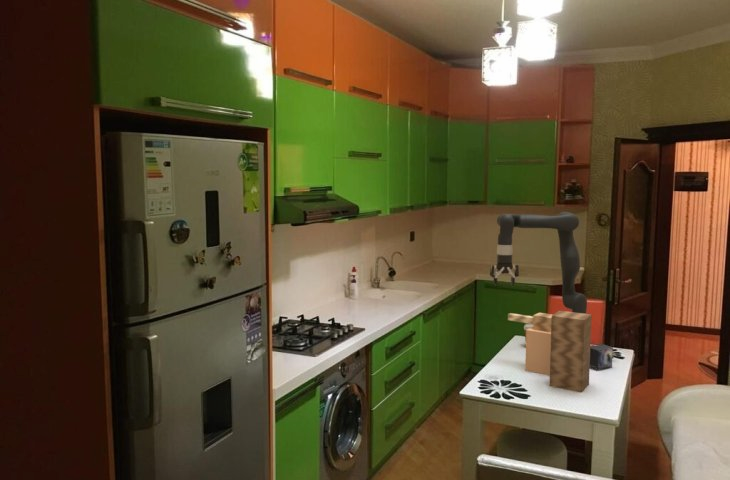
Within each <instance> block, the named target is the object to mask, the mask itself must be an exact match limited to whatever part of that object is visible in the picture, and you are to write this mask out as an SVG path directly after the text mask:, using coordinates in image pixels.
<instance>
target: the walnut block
mask: <svg viewBox="0 0 730 480" xmlns="http://www.w3.org/2000/svg"><path fill="white" fill-rule="evenodd" d="M592 316H593V315H592V314H591V313H589V314H588V313H586V314H584V313H576V312H572V311H567V310H558V311H556V312H555V313H554V314H553V315H552V320H551V353H550V375H549V387H553V388H557V389H562V390H567V391H572V392H576V393H583V392H584V391H585V390H586V389H587V387H589V385H590V369H591V368H590V346H592V343H591V342H592V341H591V340H592V339H591V338H592V337H591V336H592V320H593V319H592Z"/></svg>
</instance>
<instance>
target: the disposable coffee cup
mask: <svg viewBox="0 0 730 480" xmlns="http://www.w3.org/2000/svg"><path fill="white" fill-rule="evenodd" d="M532 326H533V324H528V323H525V324H524V326H523V330H524V339H525V341H526V330H527V329H529V328H530V327H532Z"/></svg>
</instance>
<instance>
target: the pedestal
mask: <svg viewBox="0 0 730 480" xmlns="http://www.w3.org/2000/svg"><path fill="white" fill-rule="evenodd" d="M550 353H551V333H550V332H545V331H539V330H533V326H532V327H530V328H529V329H527V330H526V340H525V360H524V361H525V364H524V365H525V366H524V367H525V368H524V370H525V371H526V372H529V373H530V372H531V373H536V374H542V375H546V376H550Z"/></svg>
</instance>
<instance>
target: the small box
mask: <svg viewBox="0 0 730 480" xmlns="http://www.w3.org/2000/svg"><path fill="white" fill-rule="evenodd" d="M613 354H614V347H612V346H610V345H608V344H607V345H606V344H604V343H603V344H596V345H590V369H592V370H594V371H597V372H598V371H603V370H608V369H612V368H613Z"/></svg>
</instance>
